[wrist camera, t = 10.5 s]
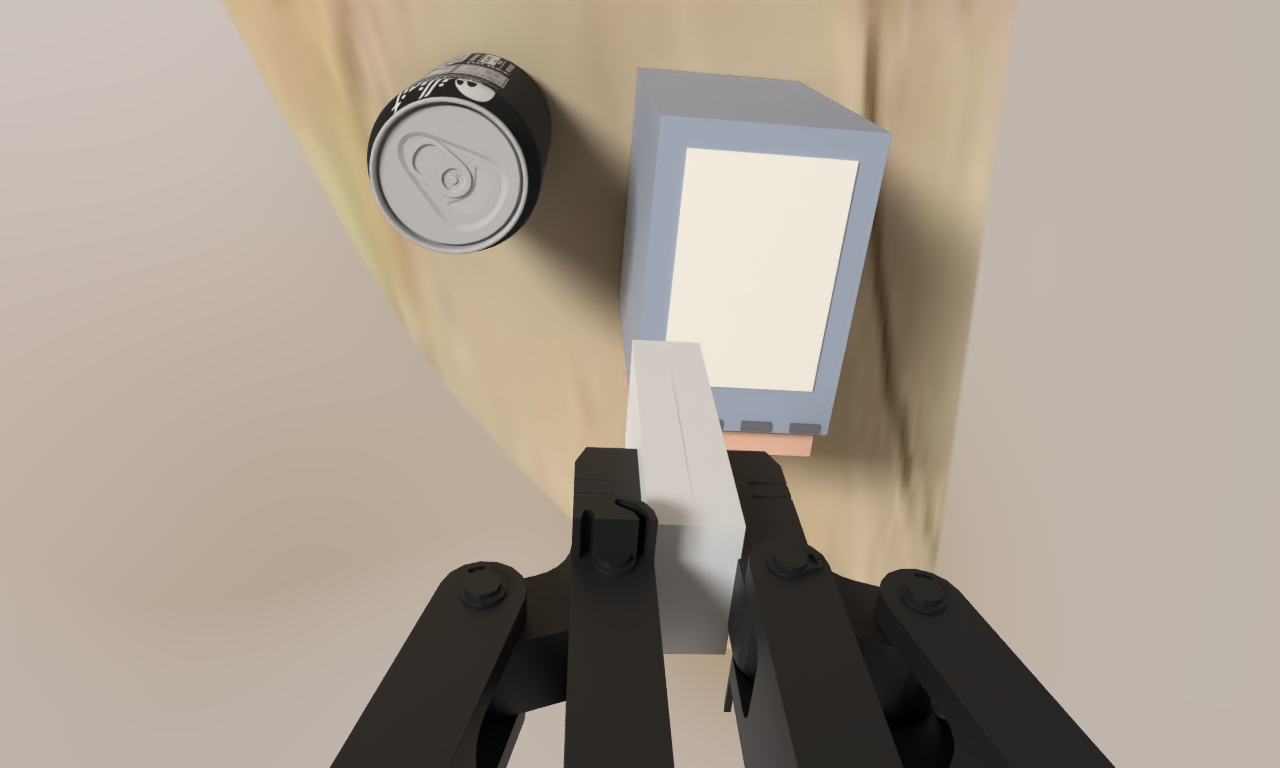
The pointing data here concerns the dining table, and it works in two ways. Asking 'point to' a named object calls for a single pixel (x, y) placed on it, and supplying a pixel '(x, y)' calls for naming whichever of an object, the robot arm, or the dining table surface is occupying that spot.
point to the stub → (762, 439)
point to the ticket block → (749, 237)
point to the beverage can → (461, 154)
